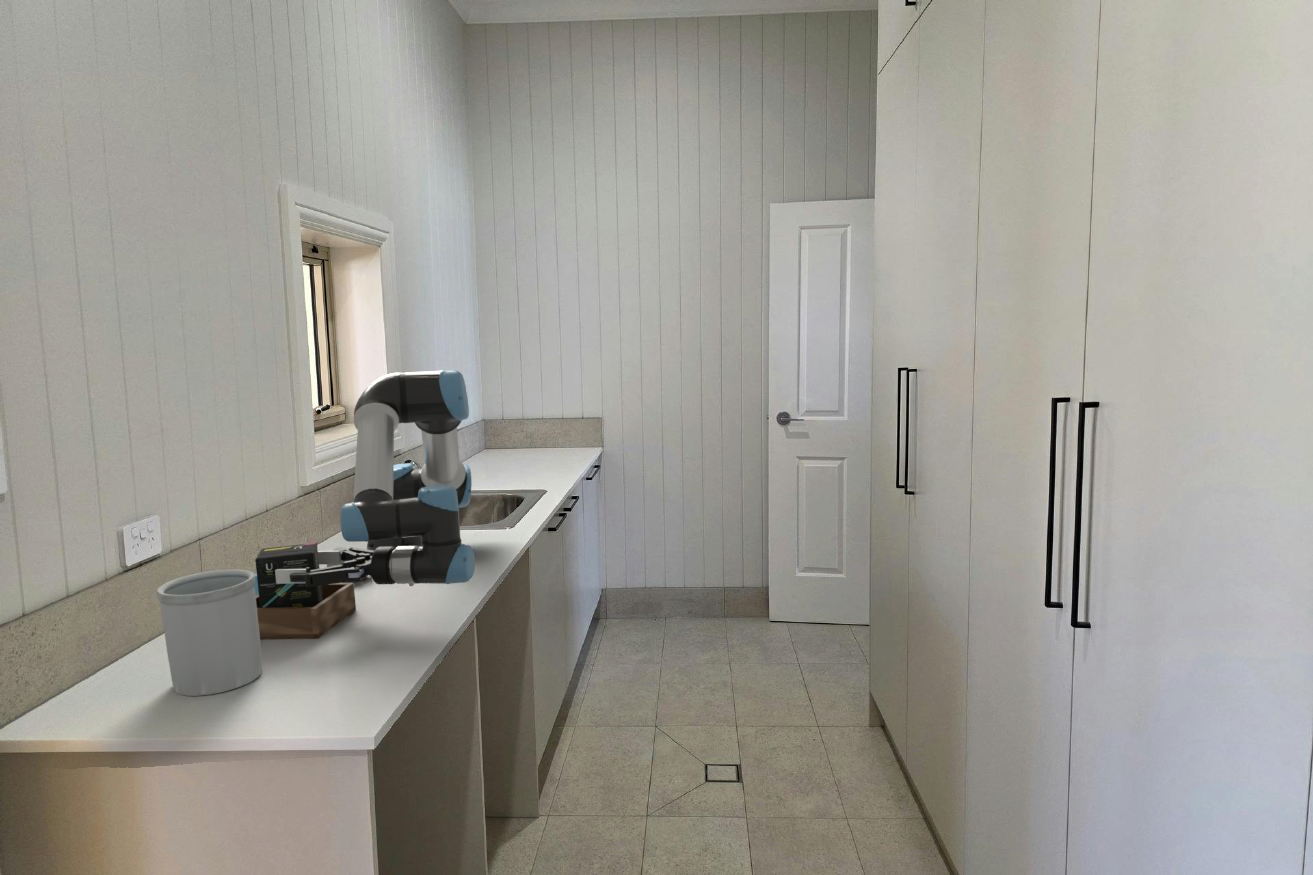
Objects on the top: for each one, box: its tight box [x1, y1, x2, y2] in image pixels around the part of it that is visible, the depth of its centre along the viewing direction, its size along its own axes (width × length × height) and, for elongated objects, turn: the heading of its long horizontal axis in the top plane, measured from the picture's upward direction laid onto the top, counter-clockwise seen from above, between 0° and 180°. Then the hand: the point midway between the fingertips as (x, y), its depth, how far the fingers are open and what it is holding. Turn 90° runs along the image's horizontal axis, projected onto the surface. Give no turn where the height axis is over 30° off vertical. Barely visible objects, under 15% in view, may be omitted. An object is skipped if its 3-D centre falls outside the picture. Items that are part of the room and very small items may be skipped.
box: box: [255, 582, 357, 640], centre depth 174 cm, size 17×17×6 cm
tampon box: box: [254, 542, 323, 608], centre depth 173 cm, size 11×9×15 cm
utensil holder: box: [156, 568, 263, 697], centre depth 145 cm, size 15×15×18 cm
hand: (293, 566), depth 172 cm, fingers open, 13 cm apart
